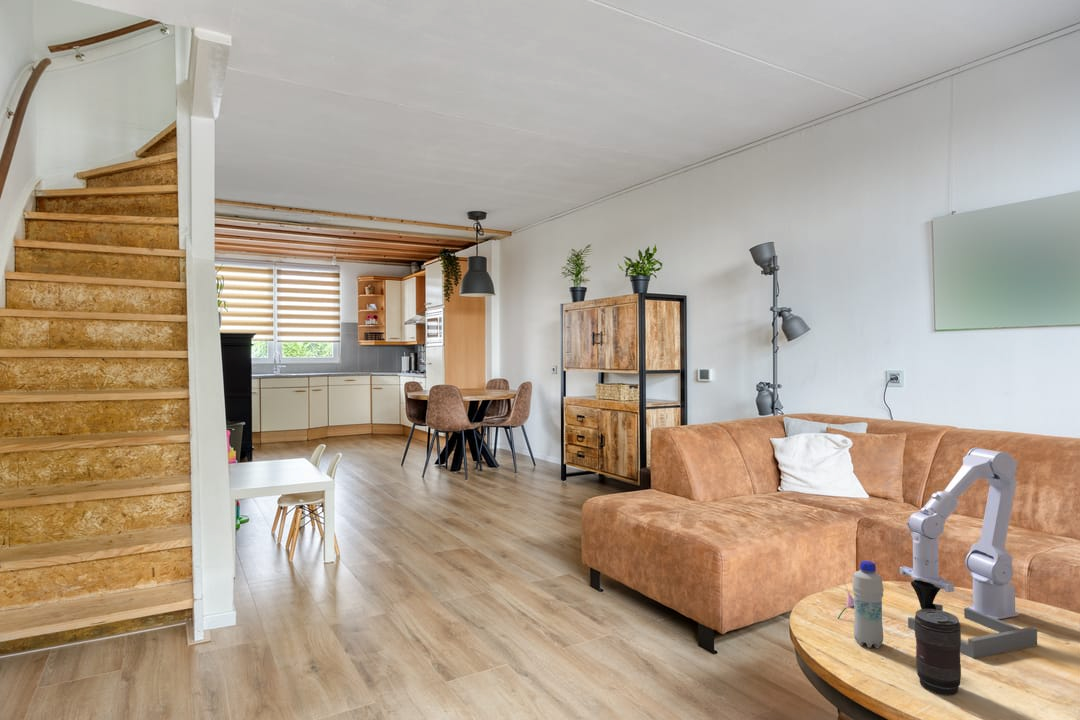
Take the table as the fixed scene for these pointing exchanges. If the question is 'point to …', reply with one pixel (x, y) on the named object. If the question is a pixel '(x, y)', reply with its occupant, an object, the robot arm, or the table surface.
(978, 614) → the dock
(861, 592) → the bottle
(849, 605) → the lily
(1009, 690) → the table surface
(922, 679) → the camera lens
